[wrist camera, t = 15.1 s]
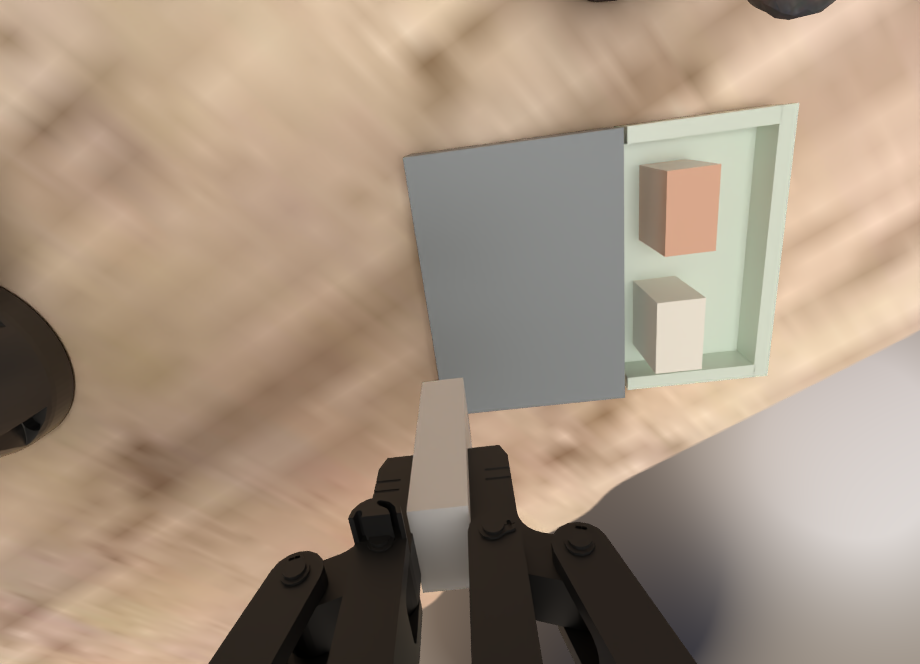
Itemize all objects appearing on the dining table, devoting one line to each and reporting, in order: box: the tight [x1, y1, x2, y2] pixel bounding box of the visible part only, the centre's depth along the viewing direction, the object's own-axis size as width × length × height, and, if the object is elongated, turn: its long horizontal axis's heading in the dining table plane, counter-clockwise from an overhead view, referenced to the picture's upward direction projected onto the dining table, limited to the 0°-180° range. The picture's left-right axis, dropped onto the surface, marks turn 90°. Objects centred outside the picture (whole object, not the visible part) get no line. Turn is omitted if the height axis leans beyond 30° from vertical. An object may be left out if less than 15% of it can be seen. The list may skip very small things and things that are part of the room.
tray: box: [614, 103, 799, 390], centre depth 34 cm, size 10×18×3 cm, turn 7°
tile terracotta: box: [639, 159, 721, 257], centre depth 31 cm, size 5×5×3 cm
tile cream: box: [633, 276, 706, 374], centre depth 34 cm, size 5×5×3 cm
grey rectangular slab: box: [403, 128, 625, 414], centre depth 34 cm, size 13×18×4 cm
